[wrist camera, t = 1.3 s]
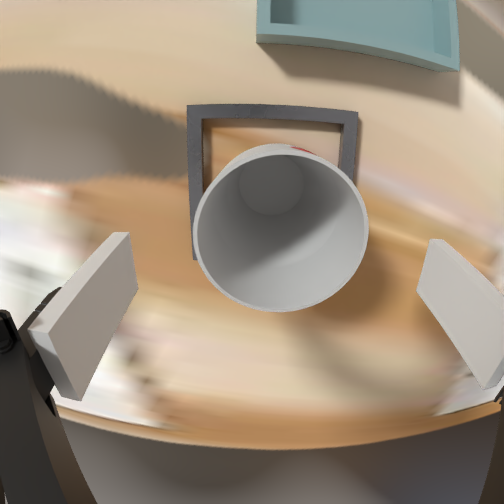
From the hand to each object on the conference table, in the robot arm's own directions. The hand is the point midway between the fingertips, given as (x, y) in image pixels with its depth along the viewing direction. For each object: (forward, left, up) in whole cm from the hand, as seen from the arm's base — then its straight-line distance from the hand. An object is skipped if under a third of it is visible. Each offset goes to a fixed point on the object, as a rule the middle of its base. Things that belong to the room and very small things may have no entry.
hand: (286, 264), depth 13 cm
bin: (-18, +6, -12) cm, 22 cm away
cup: (0, 0, -12) cm, 12 cm away
